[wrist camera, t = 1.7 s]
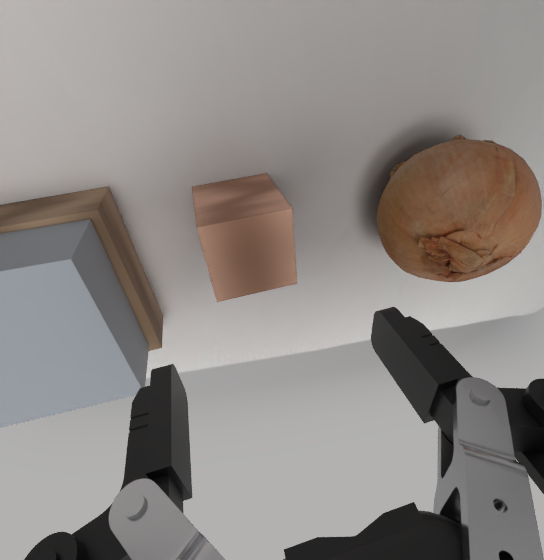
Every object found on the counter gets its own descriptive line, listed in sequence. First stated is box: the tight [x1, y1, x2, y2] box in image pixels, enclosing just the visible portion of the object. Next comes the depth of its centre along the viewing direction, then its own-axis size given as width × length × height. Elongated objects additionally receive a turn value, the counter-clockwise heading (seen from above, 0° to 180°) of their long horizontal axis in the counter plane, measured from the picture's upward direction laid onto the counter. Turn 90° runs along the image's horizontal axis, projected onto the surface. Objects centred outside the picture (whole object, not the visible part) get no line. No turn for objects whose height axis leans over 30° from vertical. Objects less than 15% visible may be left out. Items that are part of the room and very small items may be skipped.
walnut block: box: [0, 186, 163, 351], centre depth 21 cm, size 11×11×4 cm
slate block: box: [0, 219, 149, 427], centre depth 18 cm, size 10×10×4 cm
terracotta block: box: [192, 173, 297, 302], centre depth 20 cm, size 5×5×6 cm
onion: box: [377, 135, 542, 282], centre depth 21 cm, size 10×9×10 cm
